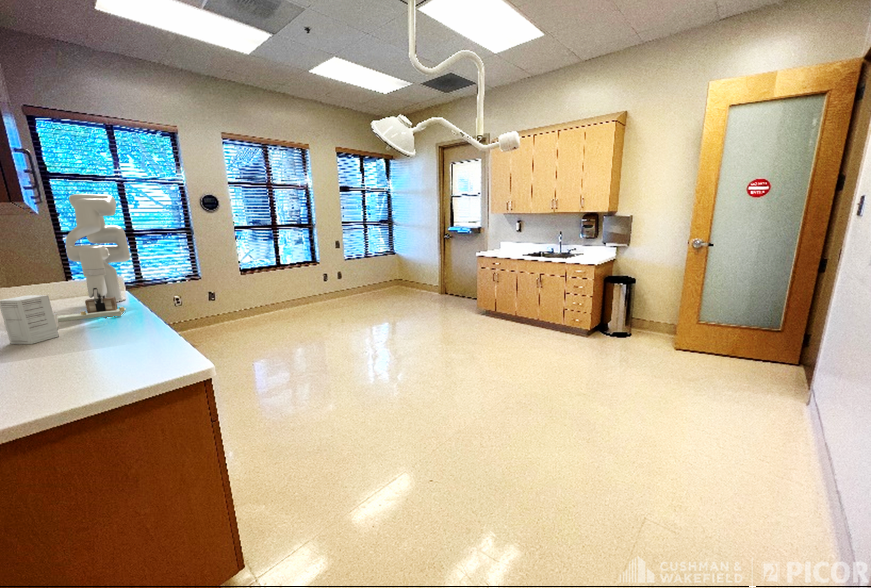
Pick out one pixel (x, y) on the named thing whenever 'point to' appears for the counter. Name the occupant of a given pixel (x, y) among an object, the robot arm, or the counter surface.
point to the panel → (91, 314)
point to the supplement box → (28, 319)
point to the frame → (109, 302)
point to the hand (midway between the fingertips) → (102, 309)
